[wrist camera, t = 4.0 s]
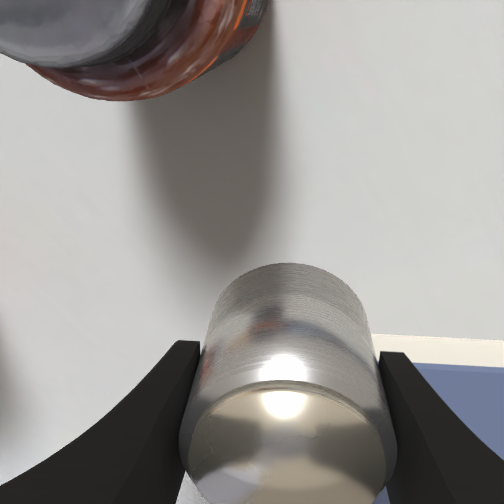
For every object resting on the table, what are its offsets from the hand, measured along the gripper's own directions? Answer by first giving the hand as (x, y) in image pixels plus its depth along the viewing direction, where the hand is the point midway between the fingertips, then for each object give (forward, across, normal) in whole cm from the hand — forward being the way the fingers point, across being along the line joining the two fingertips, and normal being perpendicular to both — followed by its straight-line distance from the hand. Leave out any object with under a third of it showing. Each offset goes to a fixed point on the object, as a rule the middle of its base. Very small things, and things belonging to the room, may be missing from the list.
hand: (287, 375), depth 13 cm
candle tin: (+2, 0, 0) cm, 2 cm away
